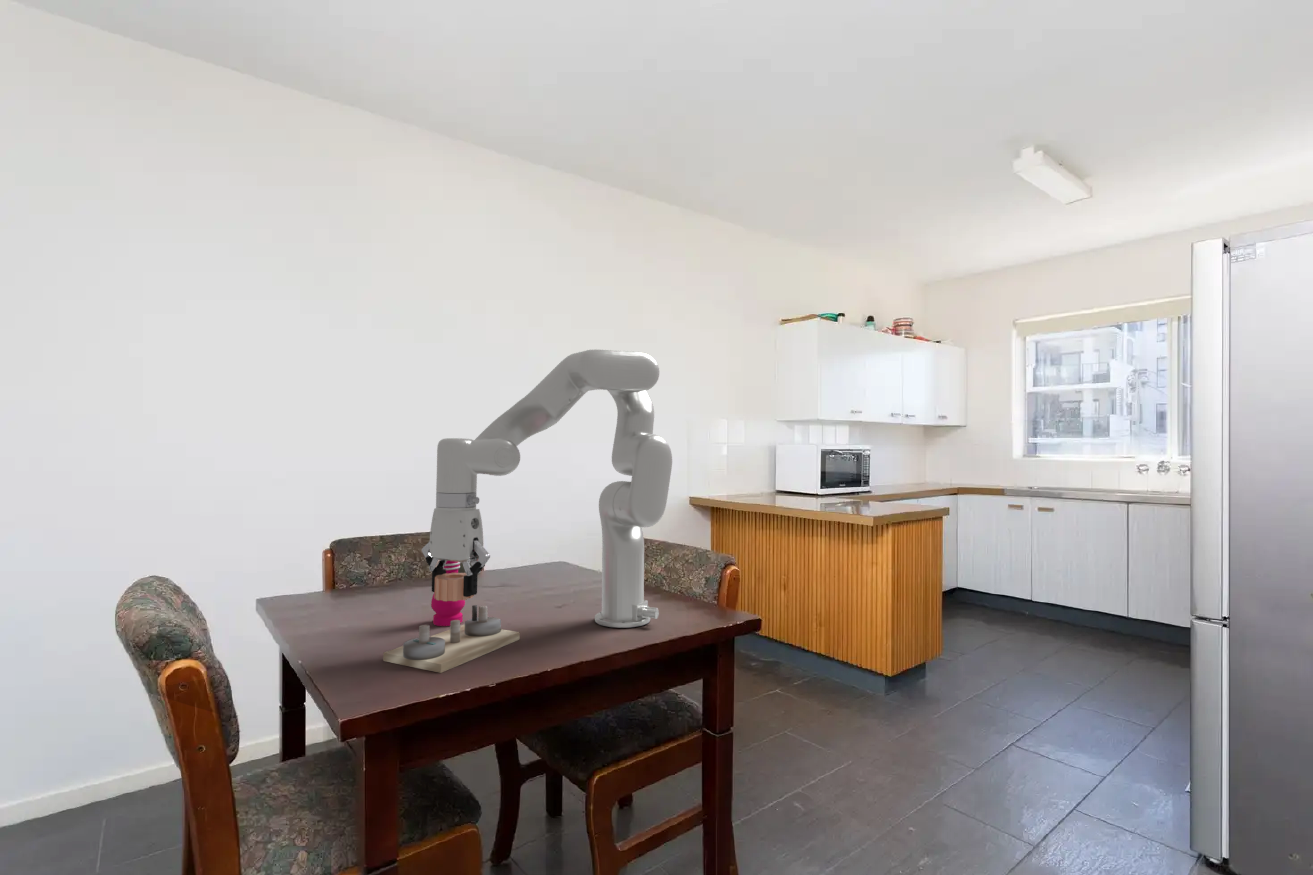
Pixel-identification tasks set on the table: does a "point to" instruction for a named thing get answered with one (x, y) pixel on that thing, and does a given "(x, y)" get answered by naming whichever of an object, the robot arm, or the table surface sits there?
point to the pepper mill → (447, 603)
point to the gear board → (453, 643)
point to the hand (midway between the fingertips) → (454, 592)
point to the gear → (450, 587)
